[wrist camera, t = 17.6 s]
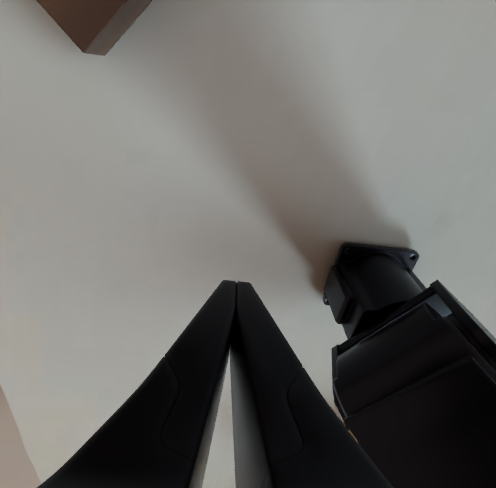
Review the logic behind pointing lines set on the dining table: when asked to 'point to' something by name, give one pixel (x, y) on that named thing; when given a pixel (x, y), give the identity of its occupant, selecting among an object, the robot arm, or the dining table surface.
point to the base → (94, 20)
